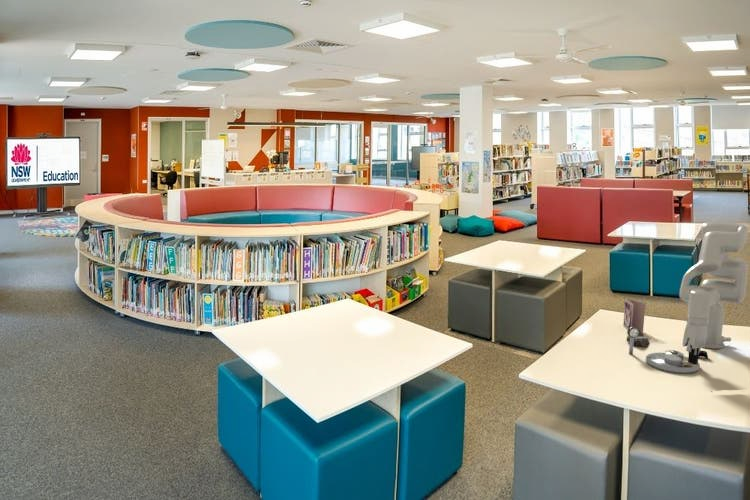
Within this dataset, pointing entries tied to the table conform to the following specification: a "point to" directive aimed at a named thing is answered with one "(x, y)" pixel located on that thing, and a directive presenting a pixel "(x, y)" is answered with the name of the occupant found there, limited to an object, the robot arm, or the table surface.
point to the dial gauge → (633, 337)
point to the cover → (673, 357)
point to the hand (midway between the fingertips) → (692, 362)
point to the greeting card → (634, 314)
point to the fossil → (640, 340)
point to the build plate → (703, 354)
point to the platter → (658, 362)
